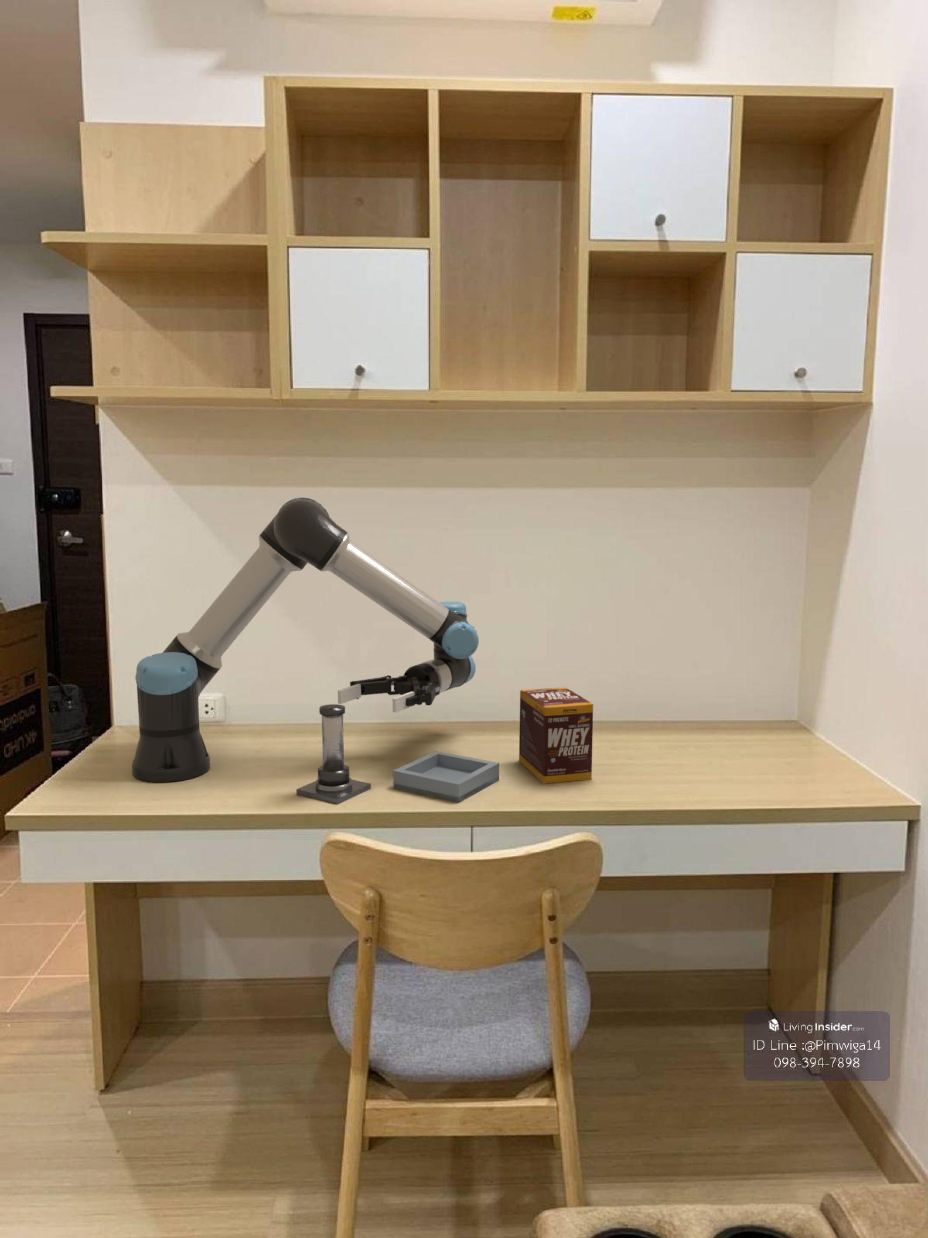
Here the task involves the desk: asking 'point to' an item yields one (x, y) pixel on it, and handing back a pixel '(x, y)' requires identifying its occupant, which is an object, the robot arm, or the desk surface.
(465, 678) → the robot arm
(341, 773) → the clear capped cylinder
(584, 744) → the supplement box
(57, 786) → the desk surface
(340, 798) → the stud mount
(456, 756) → the tray
